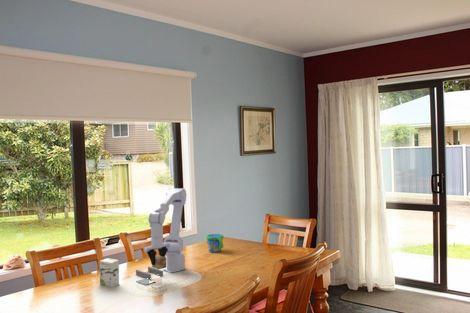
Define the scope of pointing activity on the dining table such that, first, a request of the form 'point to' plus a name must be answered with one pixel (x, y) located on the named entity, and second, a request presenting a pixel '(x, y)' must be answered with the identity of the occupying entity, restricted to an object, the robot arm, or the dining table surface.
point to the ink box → (109, 272)
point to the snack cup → (215, 242)
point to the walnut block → (159, 262)
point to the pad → (144, 281)
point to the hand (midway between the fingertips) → (157, 263)
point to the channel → (150, 270)
